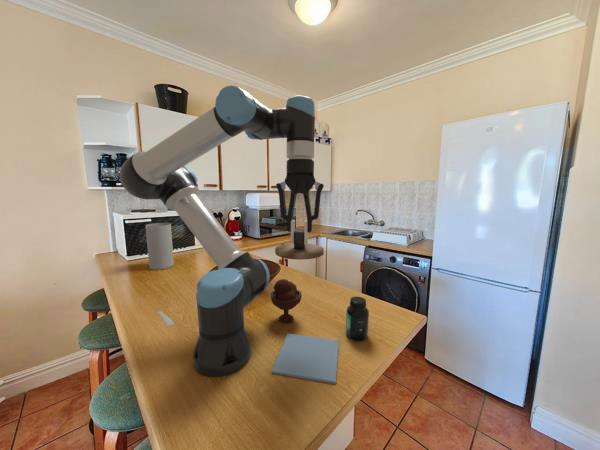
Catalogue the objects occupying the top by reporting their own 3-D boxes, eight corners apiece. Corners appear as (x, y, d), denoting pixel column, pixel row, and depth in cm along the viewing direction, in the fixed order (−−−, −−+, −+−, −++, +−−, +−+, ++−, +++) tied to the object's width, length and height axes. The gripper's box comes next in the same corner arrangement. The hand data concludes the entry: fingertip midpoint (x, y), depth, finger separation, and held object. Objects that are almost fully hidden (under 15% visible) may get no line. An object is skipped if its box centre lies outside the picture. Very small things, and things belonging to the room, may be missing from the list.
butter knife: (165, 327, 79) (174, 323, 81) (143, 301, 98) (151, 298, 100) (165, 328, 79) (175, 324, 81) (143, 302, 98) (151, 299, 100)
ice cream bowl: (298, 329, 79) (298, 286, 76) (266, 325, 81) (265, 283, 79) (304, 313, 89) (304, 274, 87) (275, 310, 91) (275, 272, 89)
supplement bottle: (346, 340, 73) (347, 304, 71) (345, 328, 80) (346, 294, 78) (369, 343, 72) (371, 305, 70) (366, 329, 79) (367, 295, 77)
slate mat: (271, 372, 60) (271, 370, 60) (287, 335, 76) (287, 333, 76) (335, 384, 57) (335, 381, 57) (338, 342, 72) (338, 340, 72)
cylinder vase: (154, 263, 145) (151, 223, 141) (176, 262, 147) (173, 222, 143) (145, 270, 133) (141, 226, 129) (169, 269, 135) (166, 226, 131)
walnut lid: (269, 258, 63) (269, 235, 63) (281, 245, 77) (280, 226, 76) (322, 260, 62) (322, 237, 61) (324, 247, 75) (324, 228, 74)
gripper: (330, 160, 68) (328, 241, 71) (274, 161, 70) (275, 239, 74) (329, 157, 61) (327, 247, 64) (267, 157, 63) (268, 244, 66)
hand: (299, 242), depth 69 cm, fingers closed on walnut lid, 3 cm apart
